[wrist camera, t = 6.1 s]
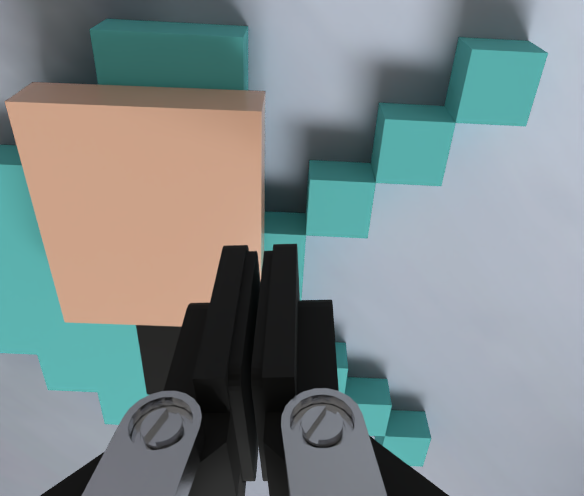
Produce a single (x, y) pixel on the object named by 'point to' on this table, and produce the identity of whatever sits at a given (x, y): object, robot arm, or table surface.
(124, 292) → the terracotta tile
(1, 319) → the alien figure
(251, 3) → the table surface
